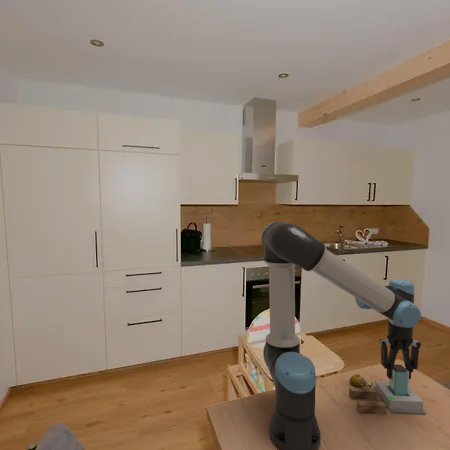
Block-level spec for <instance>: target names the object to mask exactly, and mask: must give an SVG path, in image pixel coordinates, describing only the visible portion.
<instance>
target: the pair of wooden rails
mask: <svg viewBox="0 0 450 450" xmlns="http://www.w3.org/2000/svg"><path fill="white" fill-rule="evenodd" d="M348 389H349V390H348V396H349V398H350V399H351V400H356V411H357V413H358V414H366V415H367V414H369V415H387V412H388V407H387V405H386V404H385V403H384V402H383V401H377V395H378V393H377V391H376V390H375V389H374V388H373V387H370V388H356V387H349V388H348ZM369 400H370V401H369Z"/></svg>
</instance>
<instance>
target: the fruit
mask: <svg viewBox="0 0 450 450" xmlns="http://www.w3.org/2000/svg"><path fill="white" fill-rule="evenodd" d="M349 383H350V384H351V386H353V388H371V387H372V386H374V383H373V382H372V381H366V379H365V378H364V377H363V376H361V375H360V374H359V373H355V374H353V375H351V376H350V378H349ZM370 386H371V387H370Z"/></svg>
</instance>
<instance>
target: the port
mask: <svg viewBox="0 0 450 450" xmlns="http://www.w3.org/2000/svg"><path fill="white" fill-rule="evenodd" d="M374 383H375V384H374V385H372V388H374V389H375V390H376V391H377V395H378V396H379V398H380V399H381V400H382V402H384V403H385V404H386V405H387V410H389V412H390V413H391V414H397V415H398V414H402V415H419V416H420V415H421V416H422V415H425V416H426V414H427V413H426V412H425V411H424V401H423V400H422V399H421V397H420V396H419V395H418V394H417V393H416V392H415V391H414V390H413V389H412V388H411V387H410V386H409V387H408V389H407V396H394V395H393V394H392V392H391V391H390V385H389V381H383V380H382V381H375V382H374Z"/></svg>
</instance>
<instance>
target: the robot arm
mask: <svg viewBox="0 0 450 450" xmlns="http://www.w3.org/2000/svg"><path fill="white" fill-rule="evenodd" d="M260 237H261V245H262V246H263V256H264V263H265V264H267V266H268V281H269V283H268V286H269V287H268V290H269V291H268V292H269V296H268V298H269V333H268V334H266V336H265V344H264V346H263V353H262V354H263V360H264V363H265V365H266V367H267V369H268V371H269V373H270V377H271V380H272V382H273V385H274V389H275V403H274V404H275V407H274V410H273V414H272V416H271V419H270V421H269V432H268V434H269V437H270V441H271V442H272V443H273V445H274V446H275V447H276V448H277V449H278V450H319V448H320V447H321V439H322V438H321V437H322V435H321V429H320V426H319V422H318V420H317V418H316V385H317V384H316V383H317V376H316V375H317V374H316V367H315V365H314V363H313V361H312V360H311V359H310V358H309V357H308V356H306V355H303V354H302V353H301V350H300V349H301V347H300V346H301V344H300V343H301V341H300V337H299V336H297V334H296V300H295V299H296V298H295V297H296V296H295V295H296V294H295V293H296V291H295V290H296V288H295V285H296V283H295V282H296V281H295V280H296V279H295V277H296V276H295V267H296V266H298V268H301V269H303V270H304V271H306V272H314V273H315V274H317V275H318V276H321V278H324V279H326V281H328V282H330V283H331V284H333V285H335V286H336V287H337V288H339V289H341V290H342V291H344V292H346V293H347V294H349V295H350V296H352V297H354V300H355V303H356V305H357V306H358V307H359V309H362V310H363V309H364V310H365V309H366V310H370V309H371V310H373V311H376V313H379V314H380V315H382V316H384V317H386V318H387V321H388V322H387V323H388V324H387V333H388V334H387V335H386V338H384V339H382V338H379V344H380V362H381V363H380V364H381V366H382V367H383V368H384V369H385V370H386V377H387V378H388V382H389V385H390V386H391V388H392V389H395V371H394V369H393V367H394V364H395V362H396V359H397V355H398V353H399V351H401V353H402V359H403V363H404V368H405V369H406V372H407V373H408V386H407V389H408V387H410V385H409V383H410V380H411V379H412V373H414V371H415V370H418V367H419V365H418V364H419V353H420V348H421V346H422V343H421V342H420V341H418V340H417V339H414V338H413V333H414V332H413V331H414V327H415V326H417V324H419V321H420V320H421V316H422V315H421V314H422V313H421V310H420V308H419V307H418V306H417V304H415V303H414V302H415V295H416V294H415V286H414V283H413V282H412V281H410V280H407V279H403V278H392V279H389V281H388V282H389V283H388V285H386V286H385V285H382V284H381V283H380V282H378V281H376V280H375V279H373V278H371V277H370V276H368V275H367V274H366V273H364V272H362V271H361V270H359V269H358V268H356V267H355V266H353V265H352V264H350V263H348V262H347V261H345V260H343V259H342V258H340V257H338V256H337V255H336V254H334V253H332V252H331V251H330V250H328V249H327V245H326V244H325V243H324V242H322V241H320V240H319V239H318V238H316V237H315V236H314V235H312V234H311V233H309V232H308V231H307V230H305V229H304V228H303V227H301V226H300V225H297V224H296V223H293V222H288V221H284V220H283V221H282V220H278V221H273V222H271V223H268V224H267V225H266V227H265V228H264V229H263V231H262V233H261V236H260ZM389 344H390V345H389ZM410 346H411V348H410ZM388 347H389V348H388ZM388 349H389V352H388Z"/></svg>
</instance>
